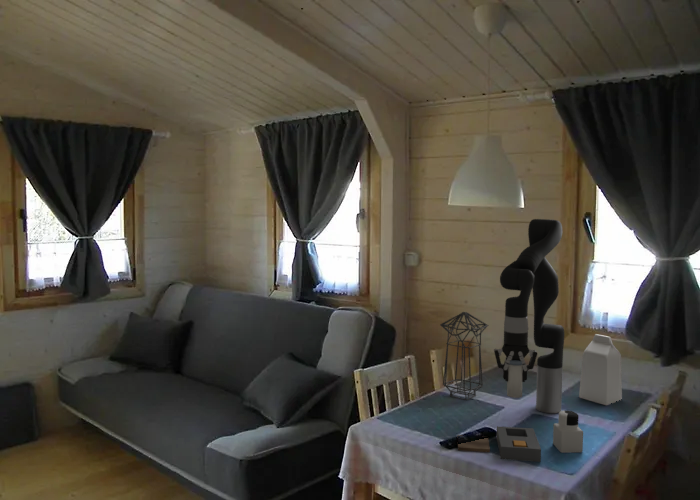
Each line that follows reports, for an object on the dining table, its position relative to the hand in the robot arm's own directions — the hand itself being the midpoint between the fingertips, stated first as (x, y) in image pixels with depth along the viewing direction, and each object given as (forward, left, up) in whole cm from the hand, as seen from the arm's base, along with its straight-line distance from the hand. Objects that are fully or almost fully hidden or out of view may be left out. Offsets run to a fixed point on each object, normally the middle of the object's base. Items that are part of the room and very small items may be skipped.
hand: (514, 380), depth 195 cm
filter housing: (+4, +1, -21) cm, 22 cm away
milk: (-53, +40, -22) cm, 70 cm away
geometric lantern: (-48, -15, -22) cm, 55 cm away
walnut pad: (+3, -13, -21) cm, 25 cm away
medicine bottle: (0, +17, -22) cm, 28 cm away
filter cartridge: (0, 0, -5) cm, 5 cm away
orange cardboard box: (+9, +1, -21) cm, 23 cm away
